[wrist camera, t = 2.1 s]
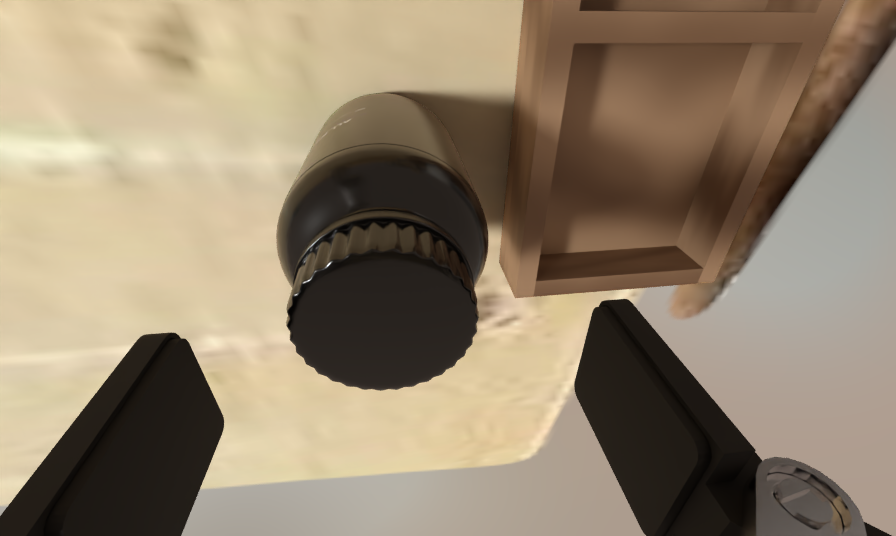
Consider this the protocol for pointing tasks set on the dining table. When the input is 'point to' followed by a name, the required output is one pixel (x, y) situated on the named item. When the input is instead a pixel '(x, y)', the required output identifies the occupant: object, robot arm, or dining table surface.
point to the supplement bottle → (382, 247)
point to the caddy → (646, 134)
